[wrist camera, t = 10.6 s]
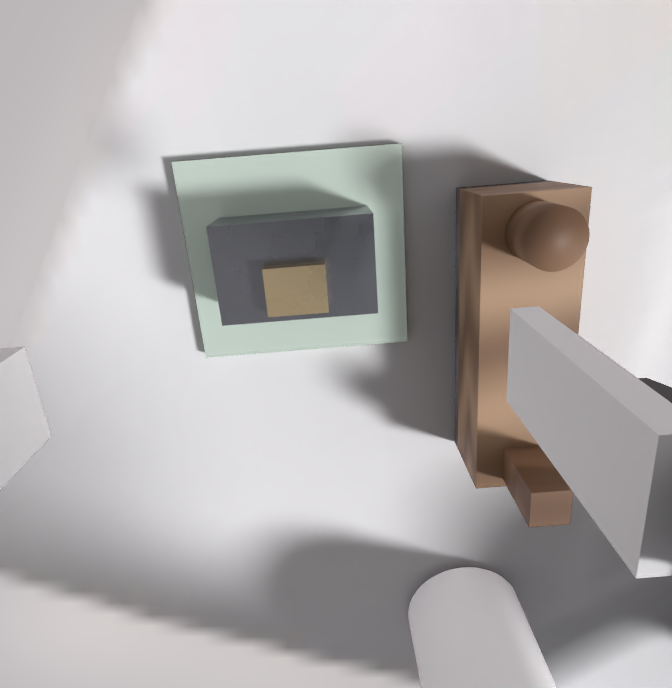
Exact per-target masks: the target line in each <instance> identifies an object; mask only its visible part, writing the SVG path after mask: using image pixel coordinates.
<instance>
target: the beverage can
mask: <svg viewBox="0 0 672 688" xmlns="http://www.w3.org/2000/svg"><path fill="white" fill-rule="evenodd" d="M408 618H409V624H410V630H411V635H412V641H413V646H414V652H415V657H416V662H417V668H418V673H419V679H420V684H421V688H557V687H556V685H555V683H554V680H553V678H552V676H551V673H550V671H549V669H548V666H547V664H546V662H545V660H544V657H543V655H542V653H541V650H540V648H539V646H538V643H537V641H536V639H535V637H534V634H533V632H532V630H531V627H530V625H529V623H528V620H527V618H526V616H525V614H524V611H523V609H522V607H521V604H520V602H519V600H518V597H517V595H516V593H515V591H514V589H513V587H512V586H511V585H510V584H509V582H508V581H506V580H505V579H504V578H503V577H501V576H500V575H498V574H496V573H494V572H492V571H489V570H486V569H482V568H475V567H462V568H455V569H451V570H447V571H444V572H442V573H439V574H437V575H435V576H433V577H432V578H430V579H429V580H427V581H426V582H425V583H424V584H422V585H421V586H420V588H419V589H418V590H417V591H416V593H415V594H414V596H413V597H412V600H411V602H410V605H409V610H408Z"/></svg>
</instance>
